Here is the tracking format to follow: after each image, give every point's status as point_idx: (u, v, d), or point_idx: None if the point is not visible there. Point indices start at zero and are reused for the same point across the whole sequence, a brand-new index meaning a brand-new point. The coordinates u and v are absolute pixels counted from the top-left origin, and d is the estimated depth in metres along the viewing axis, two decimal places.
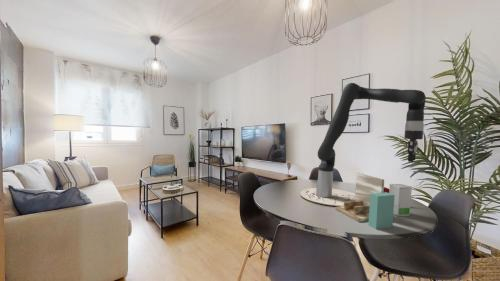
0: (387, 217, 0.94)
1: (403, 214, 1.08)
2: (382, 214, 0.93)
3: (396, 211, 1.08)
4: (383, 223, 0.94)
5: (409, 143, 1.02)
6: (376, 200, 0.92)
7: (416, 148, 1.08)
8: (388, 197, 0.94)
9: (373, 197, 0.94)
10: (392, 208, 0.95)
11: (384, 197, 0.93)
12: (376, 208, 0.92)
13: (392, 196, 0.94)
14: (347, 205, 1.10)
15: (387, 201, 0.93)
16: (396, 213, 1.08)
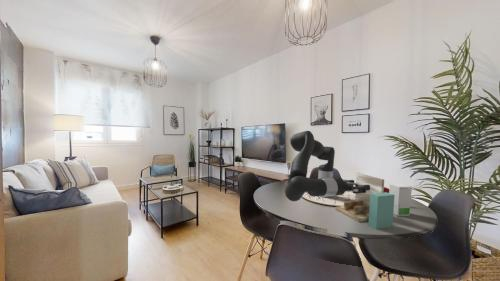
0: (387, 217, 0.94)
1: (403, 214, 1.08)
2: (382, 214, 0.93)
3: (396, 211, 1.08)
4: (383, 223, 0.94)
5: None
6: (376, 200, 0.92)
7: None
8: (388, 197, 0.94)
9: (373, 197, 0.94)
10: (392, 208, 0.95)
11: (384, 197, 0.93)
12: (376, 208, 0.92)
13: (392, 196, 0.94)
14: (347, 205, 1.10)
15: (387, 201, 0.93)
16: (396, 213, 1.08)
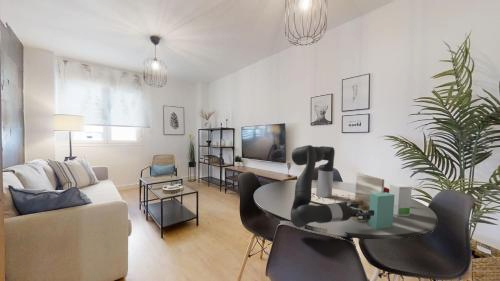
0: (387, 217, 0.94)
1: (403, 214, 1.08)
2: (382, 214, 0.93)
3: (396, 211, 1.08)
4: (383, 223, 0.94)
5: None
6: (376, 200, 0.92)
7: None
8: (388, 197, 0.94)
9: (373, 197, 0.94)
10: (392, 208, 0.95)
11: (384, 197, 0.93)
12: (376, 208, 0.92)
13: (392, 196, 0.94)
14: None
15: (387, 201, 0.93)
16: (396, 213, 1.08)
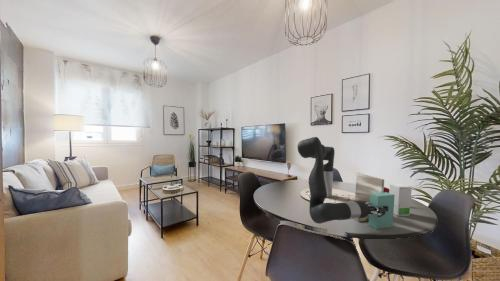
0: (387, 217, 0.94)
1: (403, 214, 1.08)
2: None
3: (396, 211, 1.08)
4: (384, 223, 0.94)
5: None
6: (376, 200, 0.92)
7: None
8: (388, 197, 0.94)
9: (373, 197, 0.94)
10: (392, 208, 0.95)
11: (384, 197, 0.93)
12: None
13: (392, 196, 0.94)
14: None
15: (387, 201, 0.93)
16: (396, 213, 1.08)
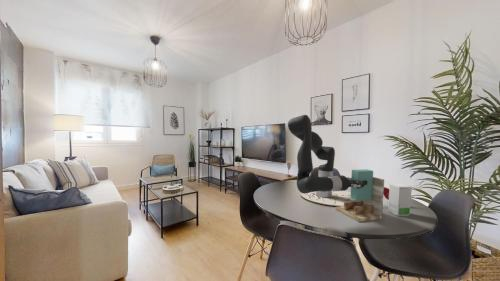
0: (366, 190, 1.05)
1: (403, 214, 1.08)
2: None
3: (396, 211, 1.08)
4: (363, 195, 1.05)
5: None
6: (356, 175, 1.03)
7: (353, 185, 1.03)
8: (367, 172, 1.05)
9: (354, 172, 1.05)
10: (371, 182, 1.06)
11: (364, 172, 1.04)
12: None
13: (371, 172, 1.06)
14: (347, 205, 1.10)
15: (366, 176, 1.05)
16: (396, 213, 1.08)
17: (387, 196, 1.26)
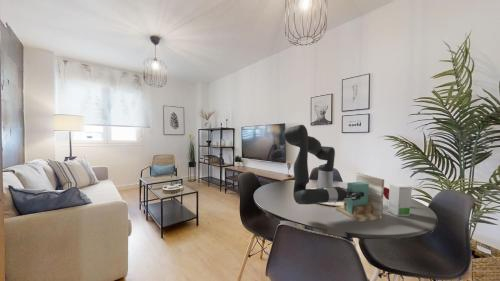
0: (362, 203, 1.07)
1: (403, 214, 1.08)
2: (357, 200, 1.06)
3: (396, 211, 1.08)
4: None
5: None
6: (352, 188, 1.05)
7: None
8: (363, 185, 1.07)
9: (349, 185, 1.07)
10: (366, 195, 1.08)
11: (359, 185, 1.06)
12: None
13: (366, 185, 1.07)
14: None
15: (362, 189, 1.07)
16: (396, 213, 1.08)
17: (387, 196, 1.26)
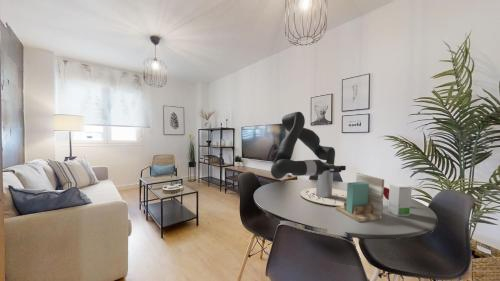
0: (362, 203, 1.07)
1: (403, 214, 1.08)
2: (357, 200, 1.06)
3: (396, 211, 1.08)
4: None
5: None
6: (352, 188, 1.05)
7: None
8: (363, 185, 1.07)
9: (349, 185, 1.07)
10: (366, 195, 1.08)
11: (359, 185, 1.06)
12: (352, 195, 1.05)
13: (366, 185, 1.07)
14: None
15: (362, 189, 1.07)
16: (396, 213, 1.08)
17: (387, 196, 1.26)
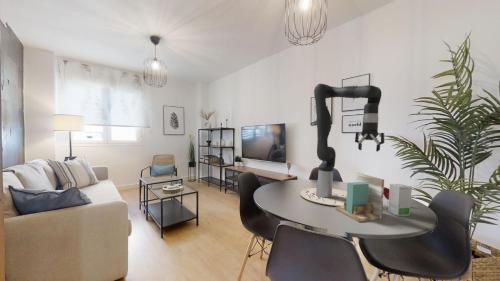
0: (362, 203, 1.07)
1: (403, 214, 1.08)
2: (357, 200, 1.06)
3: (396, 211, 1.08)
4: None
5: None
6: (352, 188, 1.05)
7: (373, 139, 1.13)
8: (363, 185, 1.07)
9: (349, 185, 1.07)
10: (366, 195, 1.08)
11: (359, 185, 1.06)
12: (352, 195, 1.05)
13: (366, 185, 1.07)
14: None
15: (362, 189, 1.07)
16: (396, 213, 1.08)
17: (387, 196, 1.26)
